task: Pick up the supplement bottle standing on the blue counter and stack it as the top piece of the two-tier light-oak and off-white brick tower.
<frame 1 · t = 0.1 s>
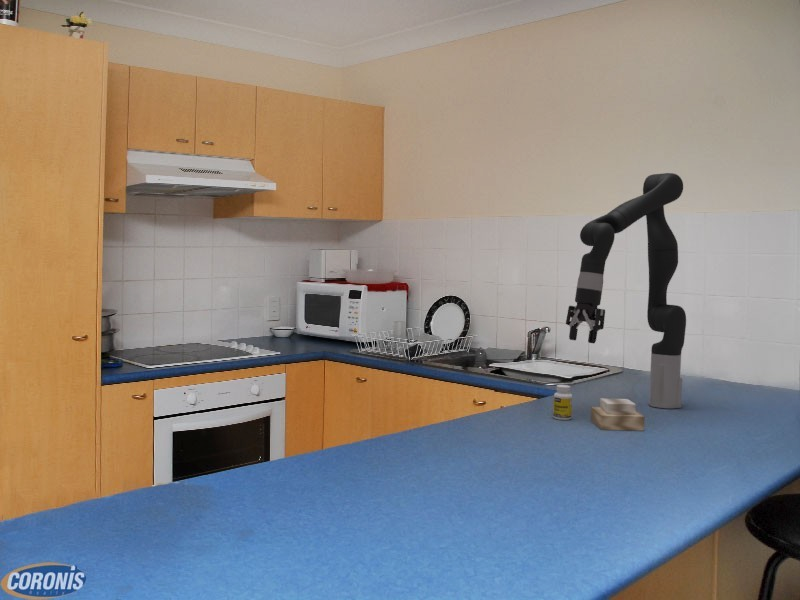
hand: (581, 341, 235), 23 cm above the countertop, tool pointing down, fingers open, 8 cm apart
tower base: (616, 425, 225), on the countertop
supplement bottle: (562, 419, 232), on the countertop
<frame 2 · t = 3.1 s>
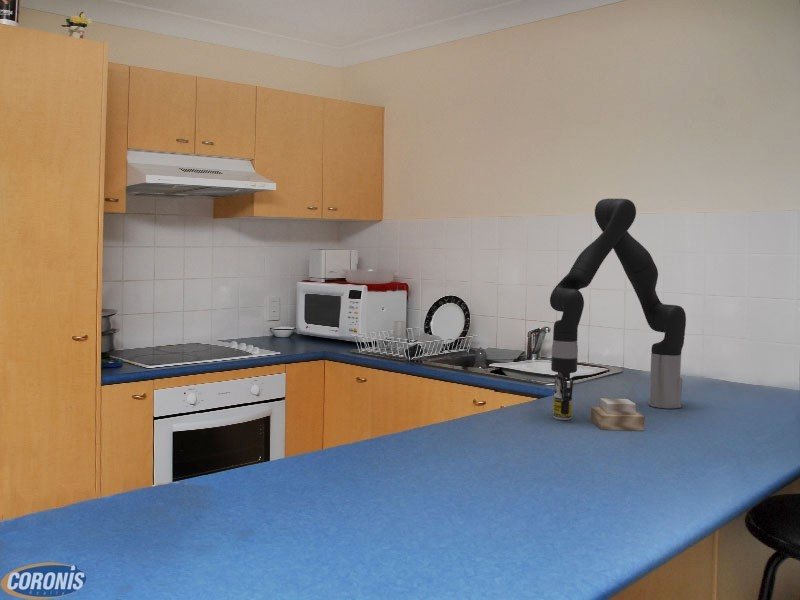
hand: (562, 411, 232), 2 cm above the countertop, tool pointing down, fingers closed on supplement bottle, 5 cm apart
supplement bottle: (562, 419, 232), on the countertop, touching gripper
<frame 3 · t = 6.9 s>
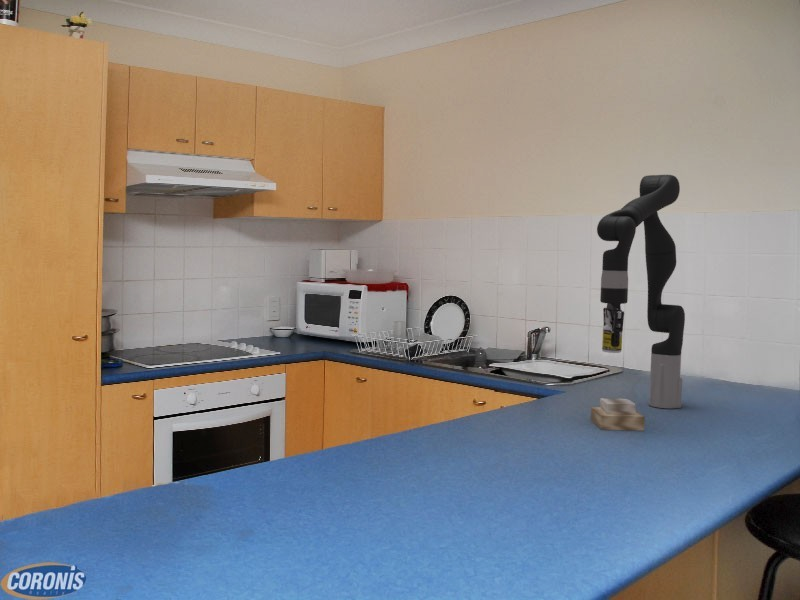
hand: (612, 344, 224), 23 cm above the countertop, tool pointing down, fingers closed on supplement bottle, 5 cm apart
supplement bottle: (611, 352, 225), point 21 cm above the countertop, touching gripper
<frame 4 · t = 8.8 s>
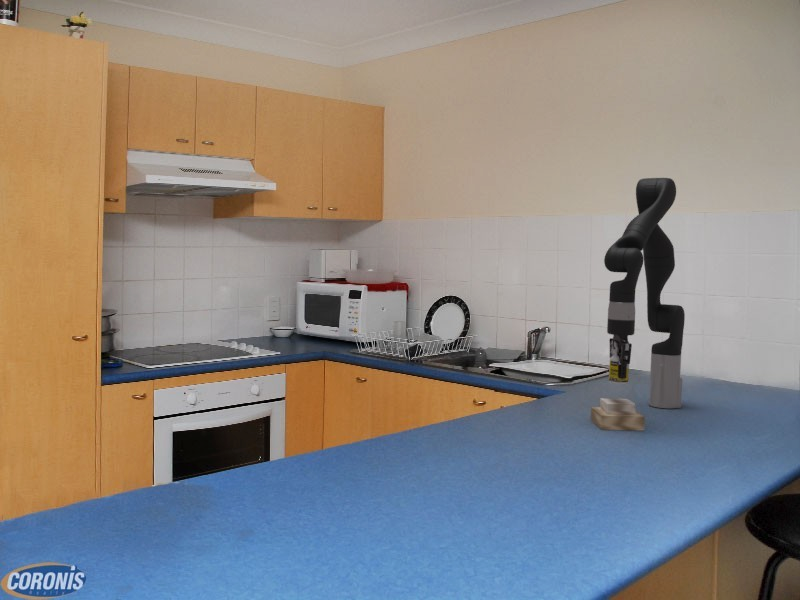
hand: (618, 376, 224), 14 cm above the countertop, tool pointing down, fingers closed on supplement bottle, 5 cm apart
supplement bottle: (618, 383, 224), point 12 cm above the countertop, touching gripper
when the fingers open (10 cm above the countertop, at t = 10.5 s): supplement bottle drops 1 cm, resting on tower base.
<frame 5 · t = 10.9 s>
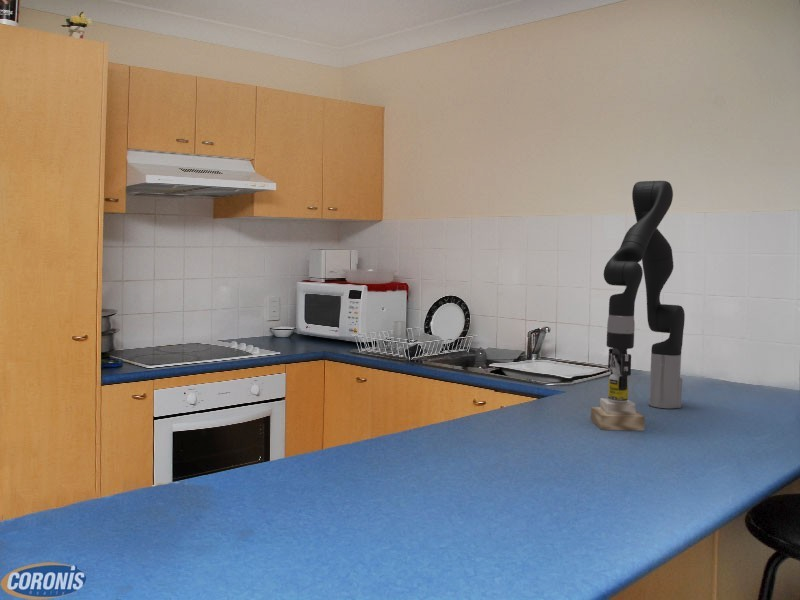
hand: (618, 387, 224), 11 cm above the countertop, tool pointing down, fingers open, 8 cm apart
supplement bottle: (617, 402, 224), point 7 cm above the countertop, touching tower base
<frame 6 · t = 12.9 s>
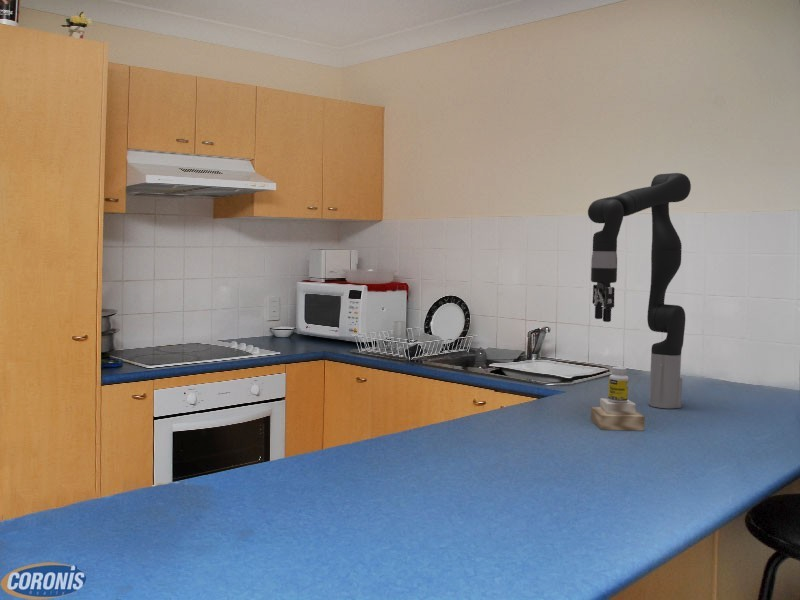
hand: (602, 320, 235), 29 cm above the countertop, tool pointing down, fingers open, 8 cm apart
nothing on the countertop moved.
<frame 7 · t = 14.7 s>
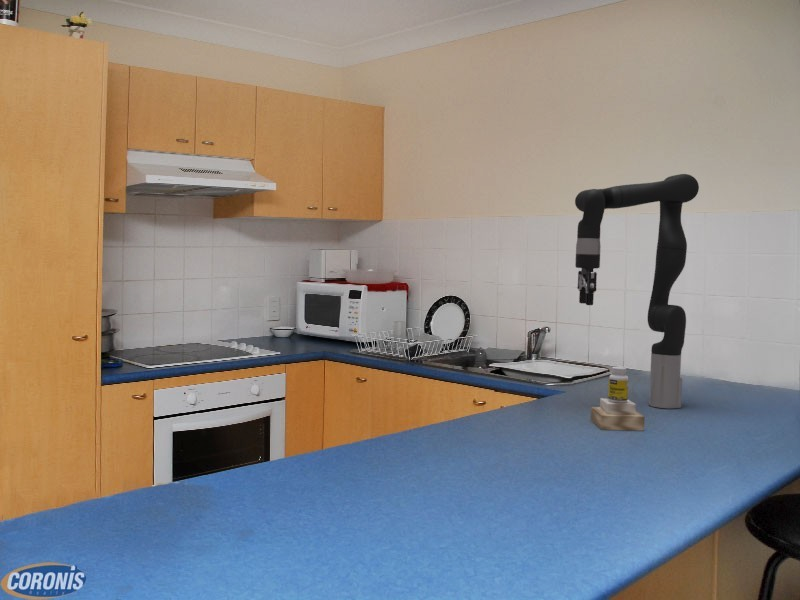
hand: (586, 304, 247), 33 cm above the countertop, tool pointing down, fingers open, 8 cm apart
nothing on the countertop moved.
at the end: supplement bottle 0.1 cm off-centre on the tower base, point 6.8 cm above the tower base's base; supplement bottle tilted 0°; the gripper is holding nothing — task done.
